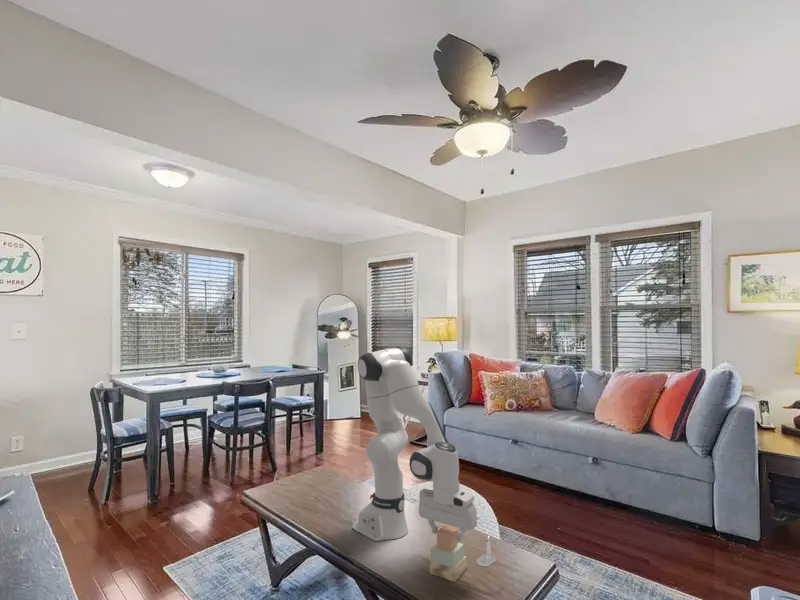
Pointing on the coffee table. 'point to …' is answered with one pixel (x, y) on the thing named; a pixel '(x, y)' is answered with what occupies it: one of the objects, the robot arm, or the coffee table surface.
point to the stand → (486, 555)
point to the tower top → (447, 555)
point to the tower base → (449, 569)
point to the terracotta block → (447, 538)
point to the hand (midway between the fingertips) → (447, 536)
